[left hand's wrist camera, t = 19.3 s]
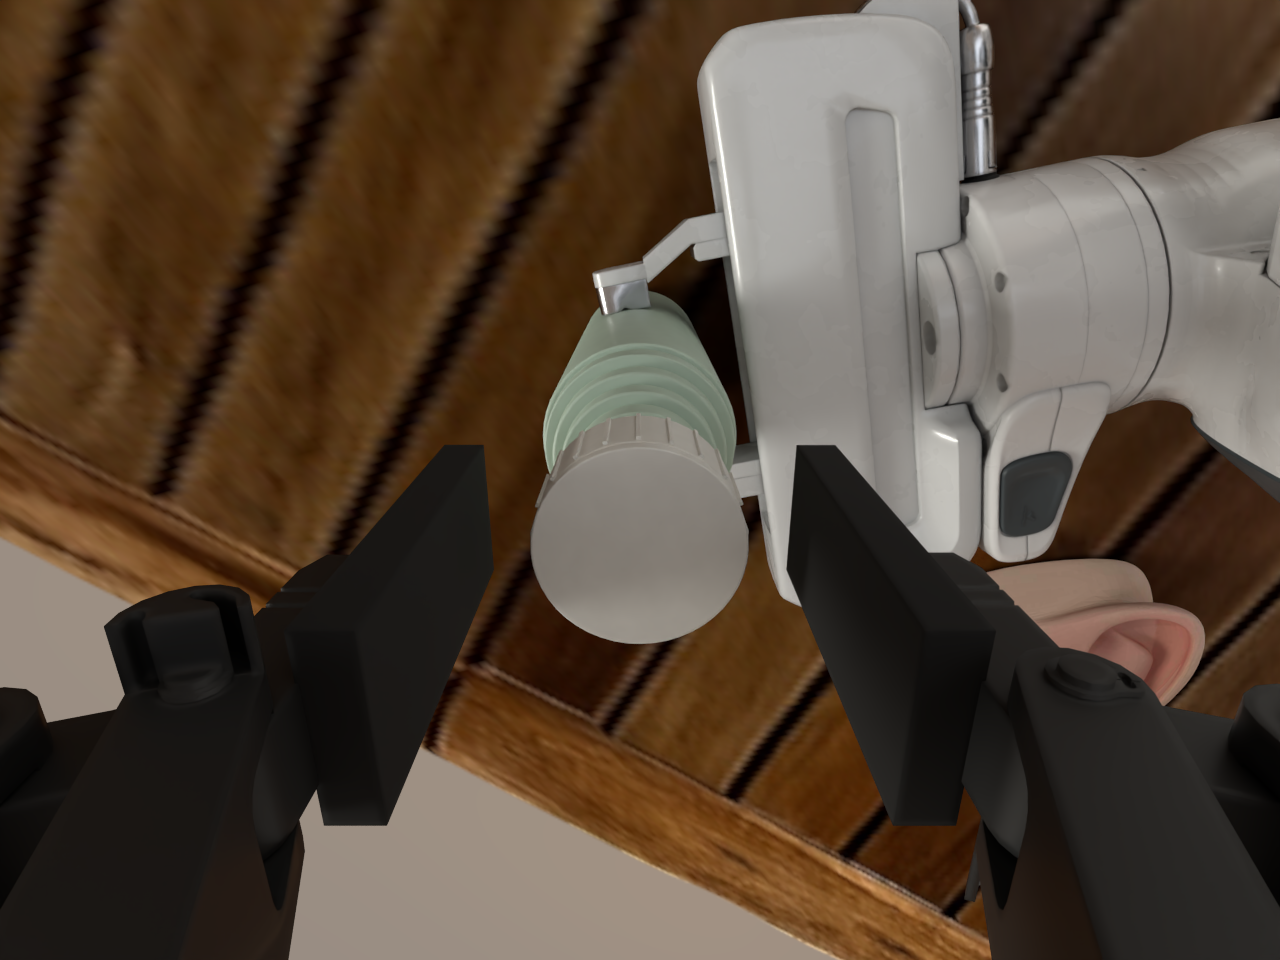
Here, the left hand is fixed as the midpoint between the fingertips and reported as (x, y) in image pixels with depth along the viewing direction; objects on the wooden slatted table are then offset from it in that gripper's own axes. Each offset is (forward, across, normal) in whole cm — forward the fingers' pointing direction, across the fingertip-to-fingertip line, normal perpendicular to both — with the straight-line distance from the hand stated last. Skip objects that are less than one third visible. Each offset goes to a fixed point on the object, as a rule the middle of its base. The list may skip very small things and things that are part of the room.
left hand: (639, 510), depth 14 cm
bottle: (+19, 0, 0) cm, 19 cm away
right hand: (+13, -1, 0) cm, 13 cm away
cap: (-2, 0, 0) cm, 2 cm away
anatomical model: (+19, +20, -16) cm, 32 cm away
